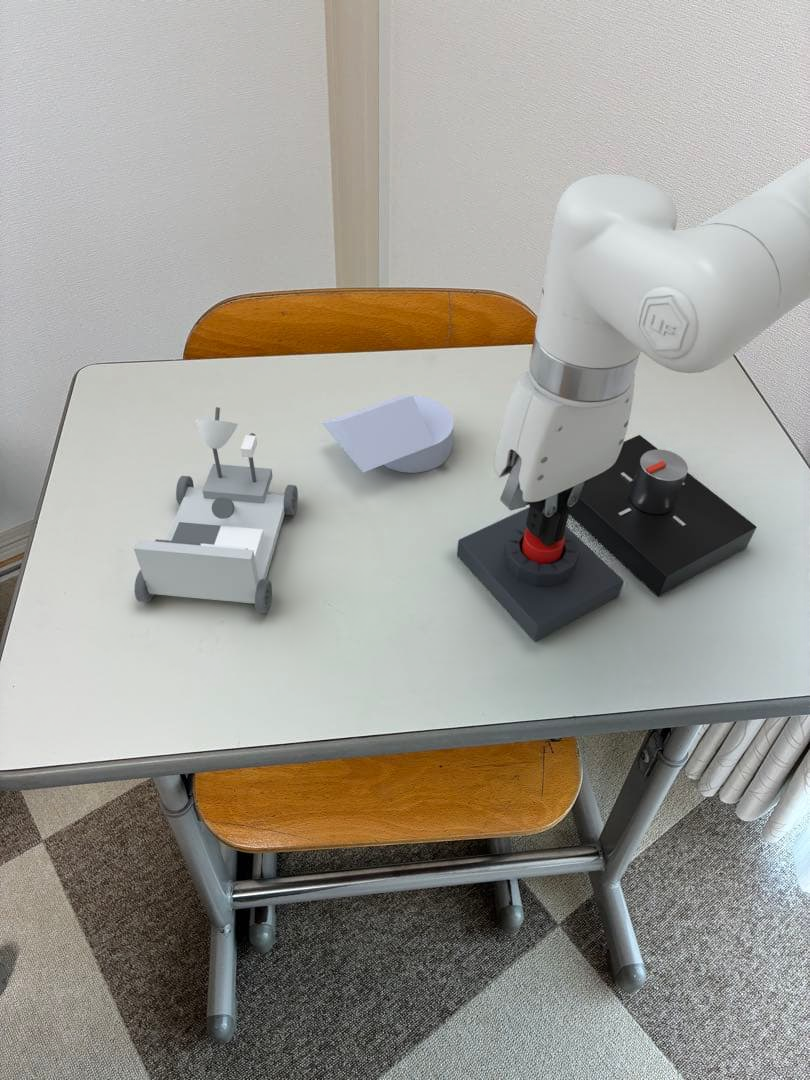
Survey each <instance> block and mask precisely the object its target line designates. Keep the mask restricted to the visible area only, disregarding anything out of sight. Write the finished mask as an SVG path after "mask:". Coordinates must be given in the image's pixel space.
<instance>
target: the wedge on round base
mask: <svg viewBox="0 0 810 1080" xmlns="http://www.w3.org/2000/svg"><path fill="white" fill-rule="evenodd" d="M321 424H322V426H323V427H324V428H325V429H326V430H327V431H328V433H329V434H330V435H331V436H332V438H334V440H335V441H336V442H337V444H338V445H339V446H340V447H341V448H342V449H343V450H344V452H345V453H346V454H347V455H348V457H349V458H350V459H351V460H352V461H353V462H354V464H355V465H356V466H357V468H359V470H360V471H361V472H362V473H366V472H368V471H370V470H373V469H376V468H378V467H381V466H384V467H386V468H388V469H390V470H392V471H396V472H399V473H400V472H401V473H406V474H407V473H409V474H413V473H415V474H416V473H417V474H418V473H424V472H428V471H431V470H434V469H436V468H438V467H440V466H441V465H443V464H445V462H446V461H447V460H448V459H449V457H450V455H451V453H452V450H453V449H452V448H453V437H454V426H455V420H454V416H453V414H452V412H451V411H450V410H449V408H447V407H446V406H445V405H444V404H442V403H441V402H440V401H437V400H435V399H433V398H430V397H426V396H422V395H414V394H413V395H400V396H395V397H391V398H388V399H385V400H382V401H380V402H376V403H374V404H371V405H368V406H365V407H363V408H360V409H357V410H354V411H351V412H348V413H345V414H342V415H340V416H337V417H334V418H331V419H328V420H325V421H322V422H321Z"/></svg>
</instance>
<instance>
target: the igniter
mask: <svg viewBox="0 0 810 1080" xmlns="http://www.w3.org/2000/svg"><path fill="white" fill-rule="evenodd" d="M528 512H529V507H525V509H522V510H519V511H518V512H515V513H514V514H511V515H509V516H507V517H505V518H503V519H501V520H498V521H496V522H494V523H492V524H490V525H488V526H485V527H483V528H481V529H479V530H477V531H474V532H473V533H470V534H468V535H465V536H464V537H461V538H459V539H458V540H457V550H456V556H457V557H458V558H459V559H460V560H461V562H462V563H463V564H464V565H465V566H466V567H467V568H468V569H469V570H470V571H471V573H472V574H473V575H474V576H475V578H477V579H478V581H479V582H480V583H481V584H482V585H483V586H484V587H485V588H486V590H487V591H488V592H489V593H490V594H491V595H492V596H493V597H494V598H495V599H496V601H497V602H498V603H499V604H500V605H501V606H502V607H503V608H504V609H505V611H506V612H507V613H508V614H509V615H510V616H511V617H512V619H513V620H514V621H515V622H516V623H517V624H518V625H519V627H521V629H522V630H523V631H524V632H525V633H526V634H527V635H528V636H529V637H530V639H531V640H532V641H533V642H538V641H539V640H541V639H543V638H544V637H547V636H548V635H550V634H552V633H554V632H555V631H557V630H559V629H561V628H563V627H565V626H566V625H568V624H570V623H572V622H574V621H576V620H578V619H580V618H581V617H584V616H585V615H587V614H589V613H590V612H593V611H594V610H596V609H598V608H599V607H602V606H603V605H605V604H607V603H608V602H610V601H613V600H614V599H616V598H618V597H619V596H620V594H621V591H622V589H623V586H624V583H625V580H623V578H622V577H621V576H620V575H618V573H617V572H615V571H614V569H612V568H611V567H610V566H609V565H608V564H607V563H606V562H605V561H604V560H603V559H602V558H601V557H600V556H599V555H597V554H596V553H595V552H594V551H593V550H592V549H591V548H590V547H589V546H588V545H587V544H586V543H585V542H584V541H583V540H582V539H580V538H579V537H578V536H577V535H576V534H575V533H574V531H572V530H571V529H570V528H569V527H568V526H567V525H566V528H565V532H564V537H565V542H564V546H563V550H562V554H561V556H560V558H559V559H558V560H557V561H555V562H553V563H550V564H539V563H536V562H533V561H531V560H529V559H528V558H527V557H526V556H525V554H524V553H523V550H522V545H523V539H524V534H525V531H526V529H527V528H528V527H527V525H526V522H527V517H528Z"/></svg>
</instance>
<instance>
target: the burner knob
mask: <svg viewBox="0 0 810 1080" xmlns="http://www.w3.org/2000/svg"><path fill="white" fill-rule="evenodd" d="M688 470H689V469H688V463H687V462H686V460H685V459H684V458H683V457H682V456H680V455H679V454H677V453H675V452H673V451H670V450H667V449H659V448H657V450H651V451H648V452H646V453H645V454H643V455H642V457H641V459H640V462H639V465H638V469H637V472H636V475H635V478H634V481H633V484H632V488H631V491H630V499H631V502H632V503H633V504H634V505H635V506H636V507H637V508H638V509H640V510H642V511H644V512H646V513H650V514H665V513H667V512H669V511H671V510H672V509H673V508H674V506H675V503H676V501H677V498H678V495H679V493H680V490H681V487H682V485H683V482H684V479H685V477H686V474H687V472H689V471H688Z"/></svg>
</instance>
